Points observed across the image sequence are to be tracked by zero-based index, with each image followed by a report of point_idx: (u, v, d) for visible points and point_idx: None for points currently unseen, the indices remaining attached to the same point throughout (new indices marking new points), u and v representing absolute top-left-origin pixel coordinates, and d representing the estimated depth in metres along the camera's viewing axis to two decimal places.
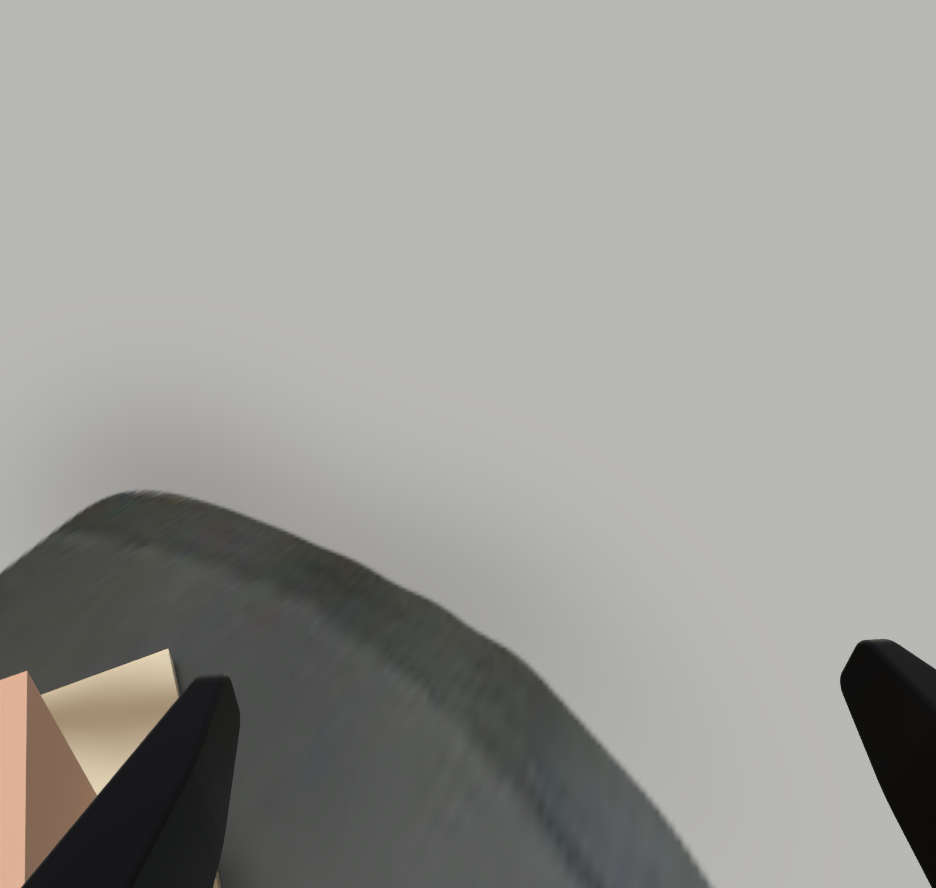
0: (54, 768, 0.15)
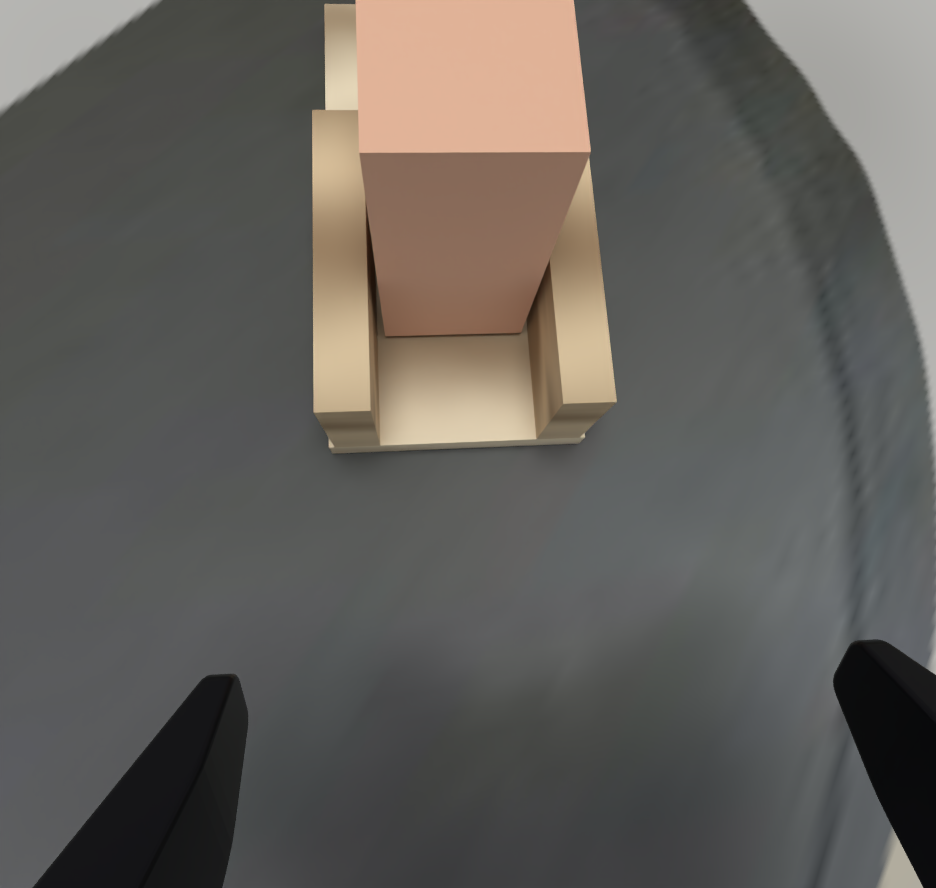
0: None
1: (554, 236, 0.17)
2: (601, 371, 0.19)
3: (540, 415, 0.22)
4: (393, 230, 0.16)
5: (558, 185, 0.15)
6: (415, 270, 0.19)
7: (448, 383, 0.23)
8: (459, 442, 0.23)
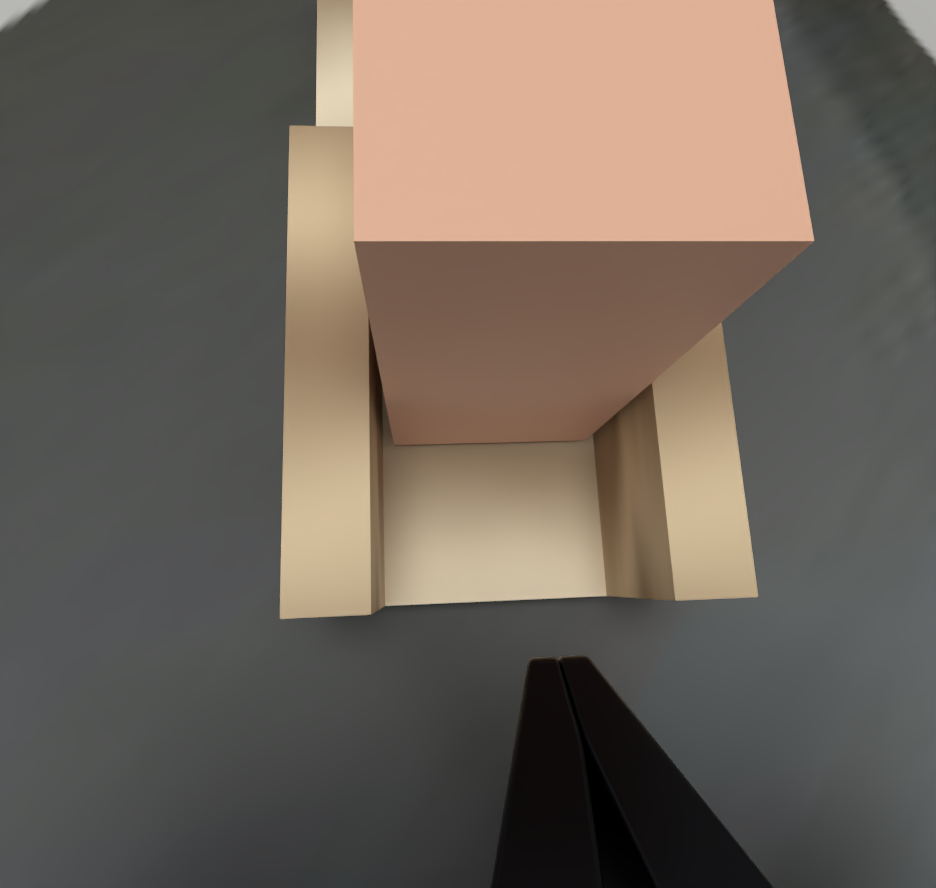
0: None
1: (681, 351, 0.10)
2: (733, 546, 0.12)
3: (617, 571, 0.15)
4: (414, 346, 0.10)
5: (723, 289, 0.08)
6: (445, 387, 0.12)
7: (482, 512, 0.16)
8: (497, 600, 0.16)
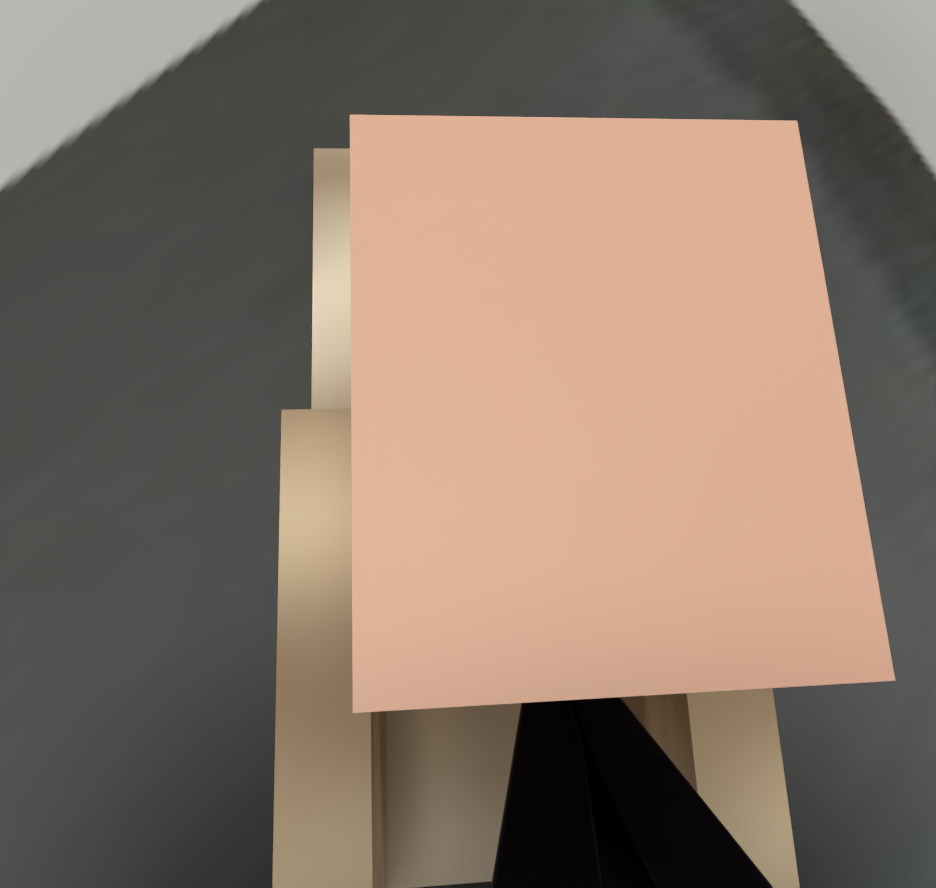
0: None
1: None
2: None
3: None
4: None
5: None
6: None
7: (494, 775, 0.15)
8: None
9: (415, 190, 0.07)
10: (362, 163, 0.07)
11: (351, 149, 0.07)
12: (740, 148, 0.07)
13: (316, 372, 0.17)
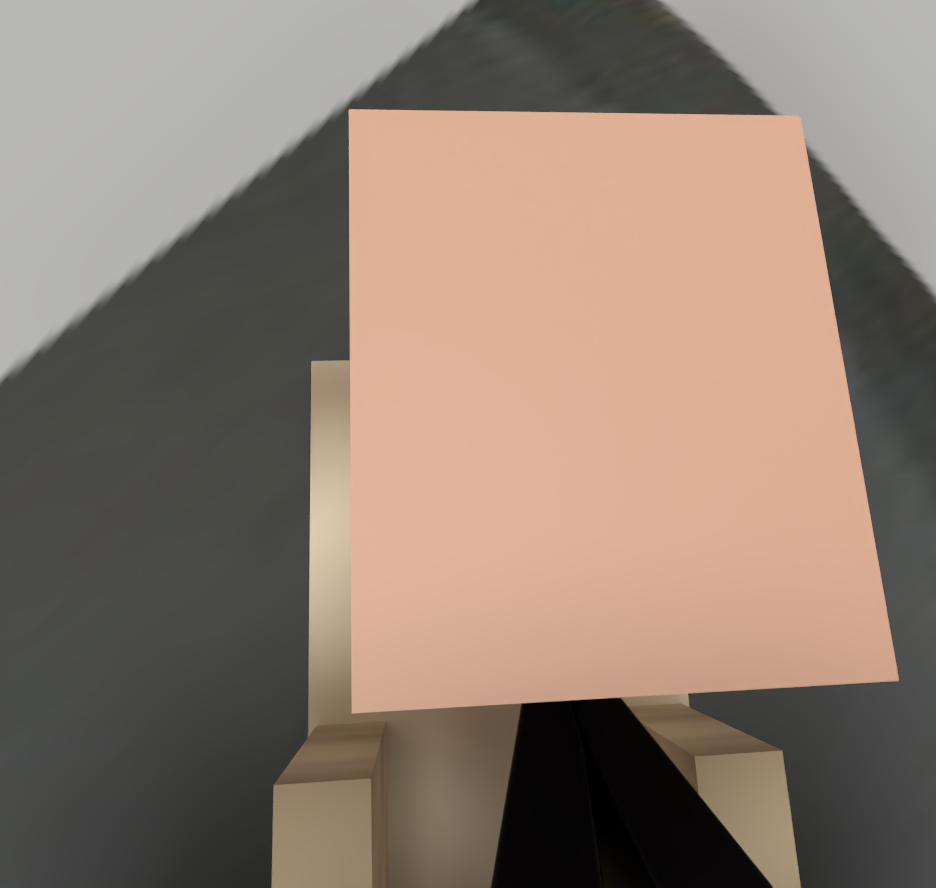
0: None
1: None
2: None
3: None
4: None
5: None
6: None
7: None
8: None
9: (415, 185, 0.07)
10: (361, 158, 0.07)
11: (350, 144, 0.07)
12: (742, 143, 0.07)
13: (314, 625, 0.15)
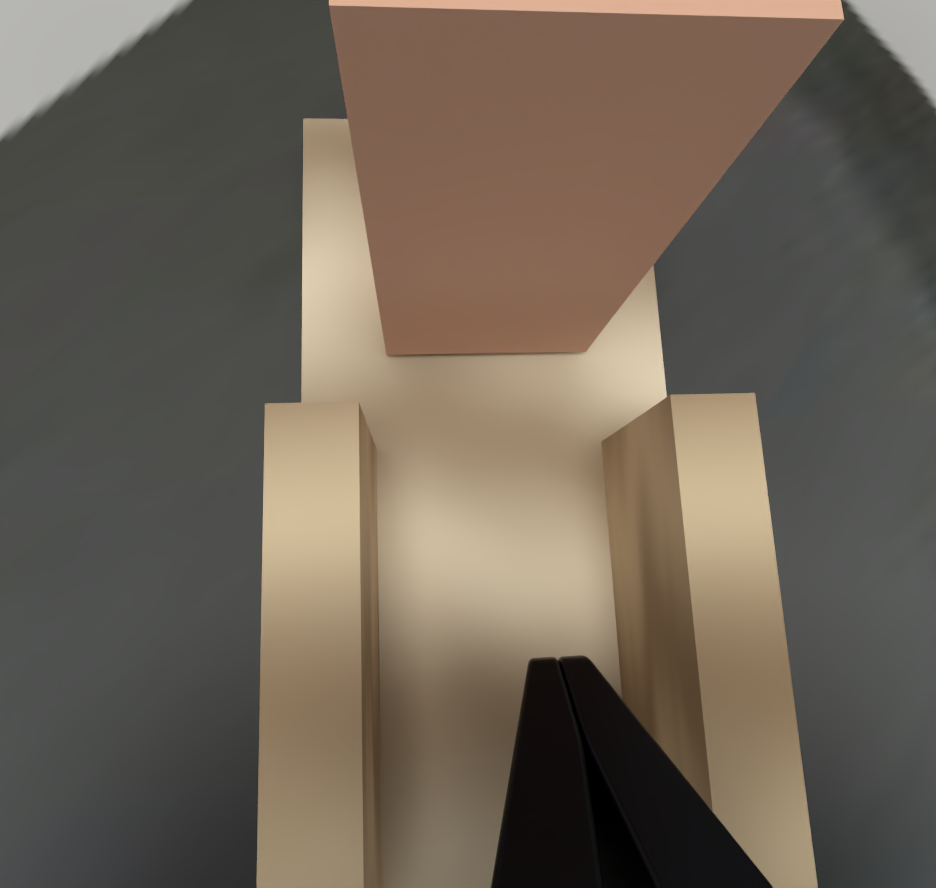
0: None
1: (690, 208, 0.10)
2: None
3: None
4: (403, 193, 0.09)
5: (739, 102, 0.07)
6: (437, 263, 0.11)
7: (494, 785, 0.14)
8: None
9: None
10: None
11: None
12: None
13: (306, 359, 0.16)
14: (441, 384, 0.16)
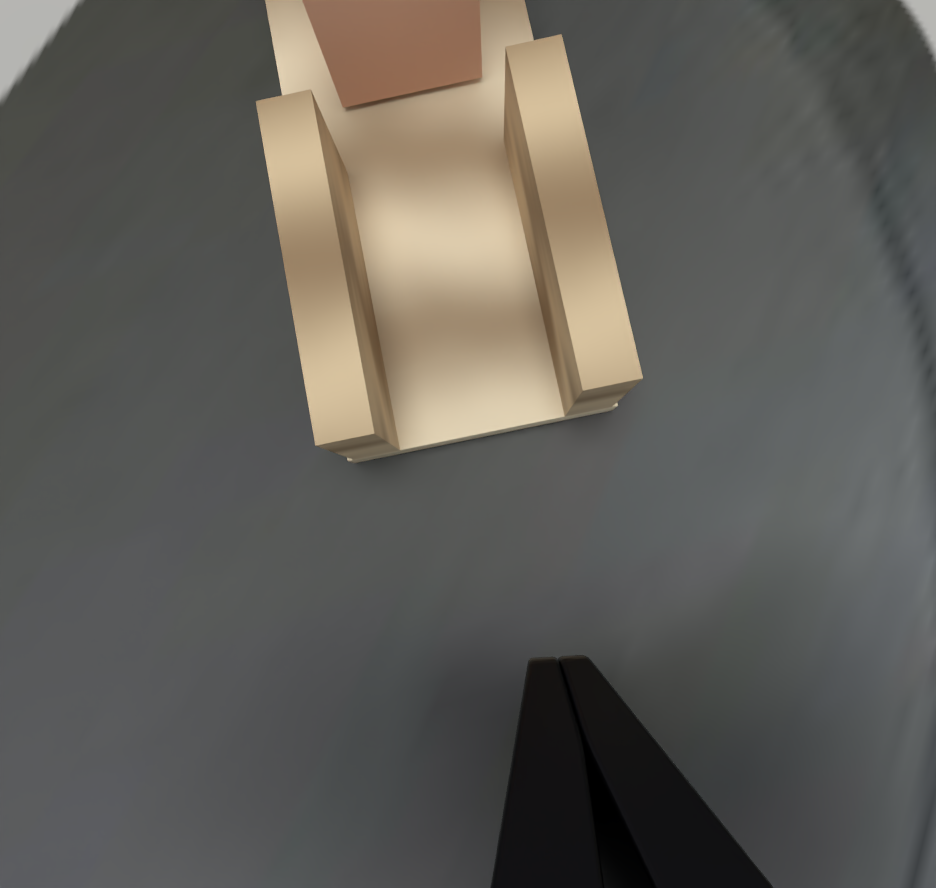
0: None
1: None
2: (621, 346, 0.17)
3: (564, 393, 0.20)
4: None
5: None
6: None
7: (461, 371, 0.22)
8: (482, 433, 0.21)
9: None
10: None
11: None
12: None
13: None
14: (385, 123, 0.23)
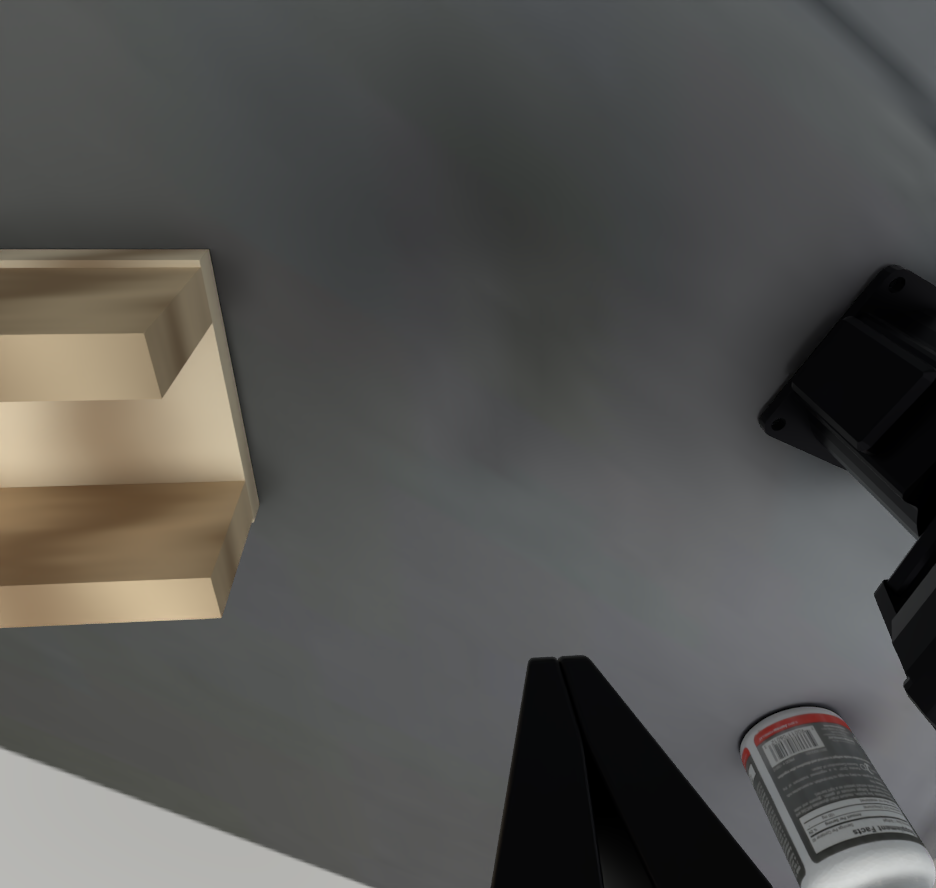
0: None
1: None
2: (102, 349, 0.14)
3: None
4: None
5: None
6: None
7: (158, 416, 0.20)
8: (230, 406, 0.20)
9: None
10: None
11: None
12: None
13: None
14: None
